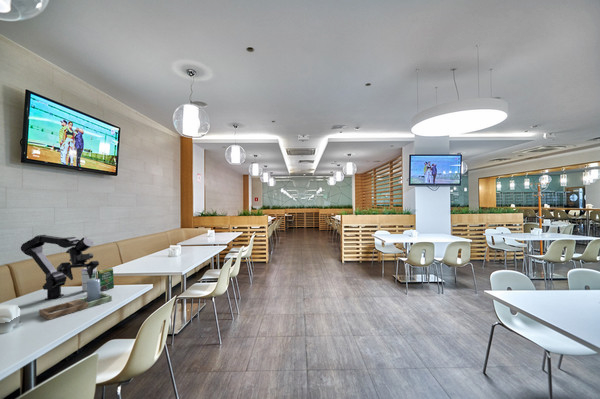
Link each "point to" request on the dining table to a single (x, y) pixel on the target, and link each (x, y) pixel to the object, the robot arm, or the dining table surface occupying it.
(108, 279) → the coffee box
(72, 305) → the caddy
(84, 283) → the syrup box
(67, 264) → the robot arm
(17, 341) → the dining table surface
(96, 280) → the canister
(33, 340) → the dining table surface
